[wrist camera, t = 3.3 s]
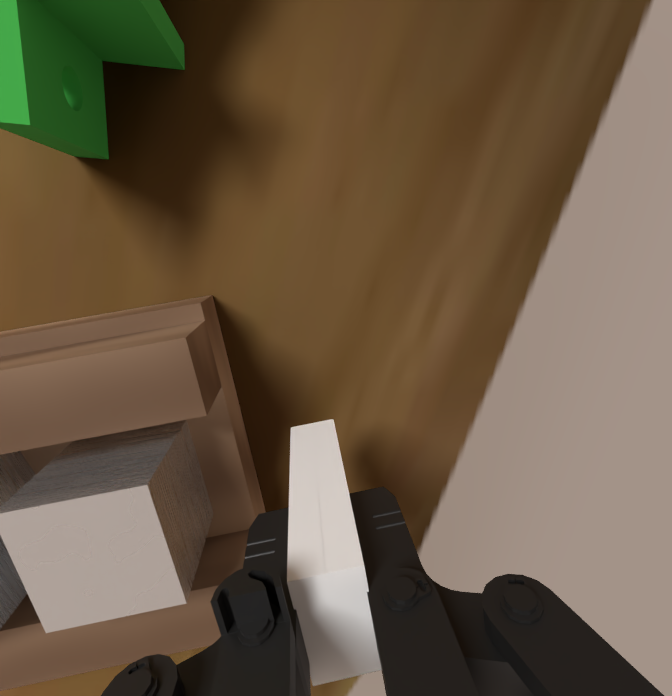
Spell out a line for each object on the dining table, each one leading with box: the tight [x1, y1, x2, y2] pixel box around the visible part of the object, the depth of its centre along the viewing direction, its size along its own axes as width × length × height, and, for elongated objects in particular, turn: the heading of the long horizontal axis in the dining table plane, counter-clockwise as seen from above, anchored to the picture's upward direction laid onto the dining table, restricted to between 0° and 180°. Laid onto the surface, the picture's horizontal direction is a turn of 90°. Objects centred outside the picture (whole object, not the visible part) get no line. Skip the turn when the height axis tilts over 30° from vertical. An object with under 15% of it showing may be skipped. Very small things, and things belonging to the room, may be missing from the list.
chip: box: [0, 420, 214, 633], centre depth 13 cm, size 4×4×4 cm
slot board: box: [0, 295, 266, 691], centre depth 14 cm, size 12×15×4 cm
